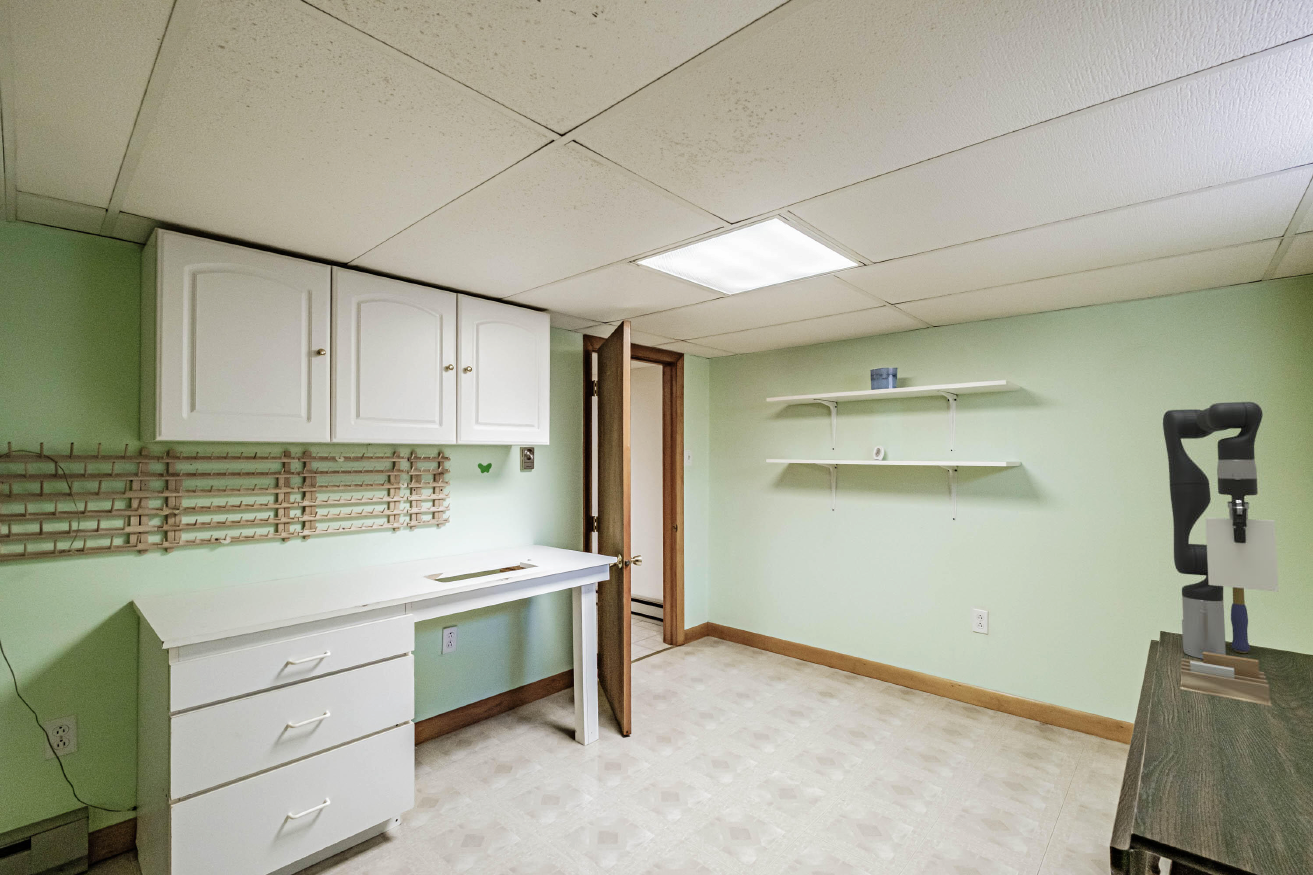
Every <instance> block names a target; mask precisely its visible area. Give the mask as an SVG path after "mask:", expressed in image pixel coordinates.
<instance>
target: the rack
mask: <svg viewBox="0 0 1313 875" xmlns="http://www.w3.org/2000/svg"><path fill="white" fill-rule="evenodd" d="M1190 661H1193V662H1199V663H1203V661H1197V660H1192V659H1191V660H1190V659H1187V658H1181V665H1180V667H1181V668H1180V669H1181V670H1180V689H1181V690H1184V691H1190V692H1195V693H1196V692H1197V693H1200V694H1206V695H1211V696H1217V697H1221V698H1227V699H1232V700H1239V701H1242V702H1243V701H1244V702H1248V703H1252V704H1253V703H1254V704H1257V705H1258V704H1259V705H1263V706H1270V707H1272V703H1271V700H1270V697H1271V696H1270V685H1269V684H1268V680H1267V677H1266V675H1265V671H1259V679H1255V678H1249V677H1243V676H1237V675H1234V678H1235V679H1231V678H1225V677H1220V676H1214V675H1208V674H1202V673H1197V672H1191V669H1190Z"/></svg>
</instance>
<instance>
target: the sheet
mask: <svg viewBox="0 0 1313 875" xmlns="http://www.w3.org/2000/svg"><path fill="white" fill-rule="evenodd" d="M1236 522H1243V520H1238V519H1237V520H1236ZM1232 523H1233V520H1232V519H1230V517H1229V518H1227V517H1225V518H1224V517H1205V532H1206V534H1205V535H1206V538H1205V539H1206V545H1207V560H1208V581H1209V585H1215V586H1223V587H1228V588H1229V587H1230V588H1233V587H1236V588H1244V589H1246V590H1249V589H1250V590H1257V591H1258V590H1259V591H1268V592H1279V583H1278V581H1279V580H1278V564H1277V561H1278V560H1277V543H1276V542H1277V541H1276V525H1275V524H1276V521H1275V520H1274V519H1255V518H1254V519H1249V518H1248V519H1247V520H1246V524H1247V528H1246V529H1245V532H1246V543H1236V542H1234V528H1233V527H1232V525H1233V524H1232ZM1235 529H1236V528H1235Z"/></svg>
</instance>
